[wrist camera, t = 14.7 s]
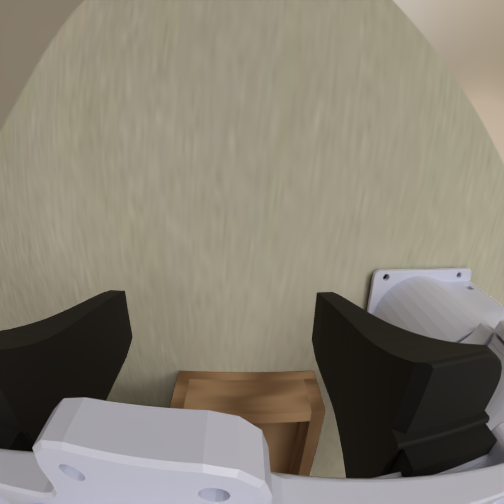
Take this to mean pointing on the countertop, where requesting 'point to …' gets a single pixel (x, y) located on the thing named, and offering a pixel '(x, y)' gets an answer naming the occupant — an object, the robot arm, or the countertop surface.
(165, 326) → the countertop surface
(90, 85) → the countertop surface
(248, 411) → the wooden box
